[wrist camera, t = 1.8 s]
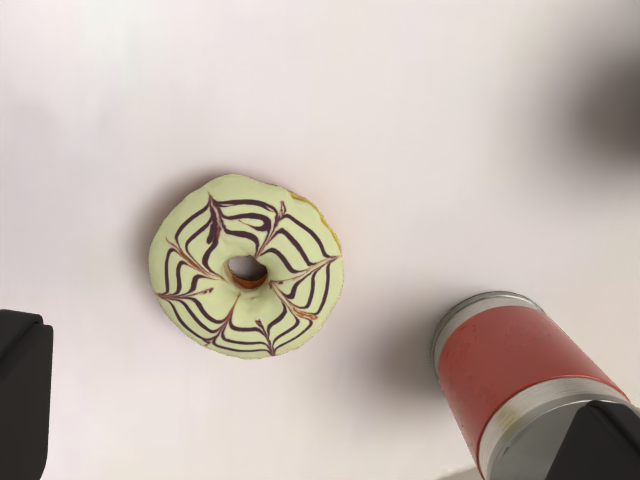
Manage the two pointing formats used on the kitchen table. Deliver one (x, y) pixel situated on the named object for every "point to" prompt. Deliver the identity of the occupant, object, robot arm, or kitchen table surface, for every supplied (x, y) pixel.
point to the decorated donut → (242, 240)
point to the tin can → (514, 383)
